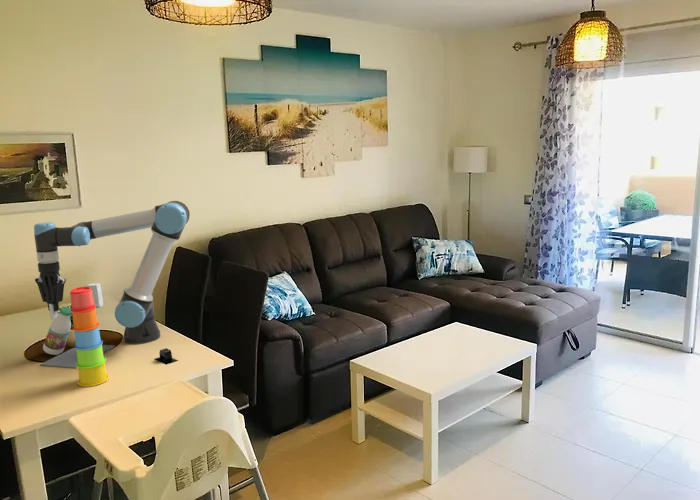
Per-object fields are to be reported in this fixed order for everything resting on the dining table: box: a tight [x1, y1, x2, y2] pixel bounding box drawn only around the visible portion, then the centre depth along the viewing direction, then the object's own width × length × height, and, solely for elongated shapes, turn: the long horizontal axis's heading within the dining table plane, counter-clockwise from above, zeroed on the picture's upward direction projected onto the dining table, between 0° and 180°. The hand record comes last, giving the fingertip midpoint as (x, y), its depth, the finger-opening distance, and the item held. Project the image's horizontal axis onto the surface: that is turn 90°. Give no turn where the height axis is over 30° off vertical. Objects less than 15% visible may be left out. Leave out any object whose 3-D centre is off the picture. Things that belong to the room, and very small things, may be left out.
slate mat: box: [39, 344, 116, 369], centre depth 228 cm, size 16×24×1 cm, turn 166°
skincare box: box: [85, 283, 104, 308], centre depth 300 cm, size 6×4×12 cm
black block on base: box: [153, 347, 179, 366], centre depth 221 cm, size 12×7×5 cm, turn 48°
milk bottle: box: [42, 306, 73, 356], centre depth 228 cm, size 8×8×20 cm
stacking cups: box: [69, 286, 110, 388], centre depth 199 cm, size 10×10×35 cm
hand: (54, 318), depth 227 cm, fingers closed
